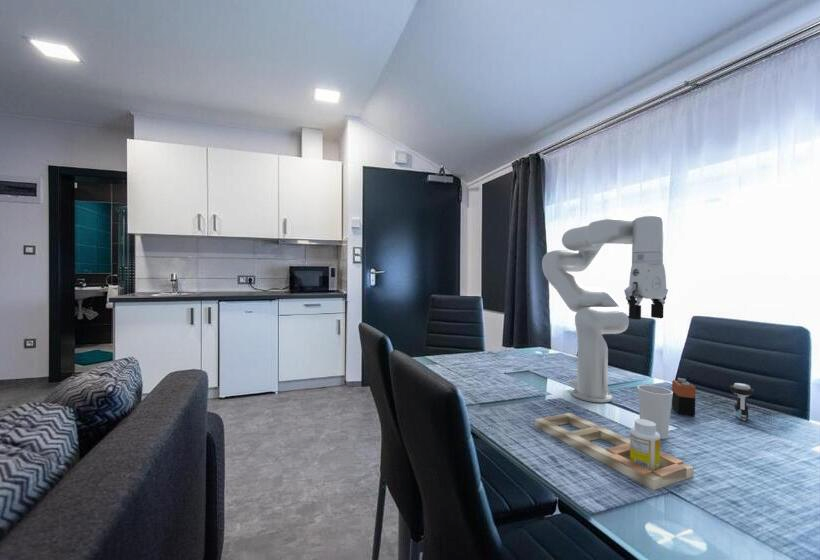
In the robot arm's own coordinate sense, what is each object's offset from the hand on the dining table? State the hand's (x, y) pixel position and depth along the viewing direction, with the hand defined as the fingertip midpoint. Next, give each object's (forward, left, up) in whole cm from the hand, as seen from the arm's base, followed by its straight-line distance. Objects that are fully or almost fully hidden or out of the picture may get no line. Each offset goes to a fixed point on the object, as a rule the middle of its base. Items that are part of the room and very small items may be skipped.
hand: (646, 318), depth 105 cm
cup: (+6, -5, -31) cm, 31 cm away
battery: (-1, +20, -31) cm, 36 cm away
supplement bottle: (+17, -25, -31) cm, 43 cm away
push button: (+9, +31, -31) cm, 44 cm away
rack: (+6, -25, -30) cm, 40 cm away
